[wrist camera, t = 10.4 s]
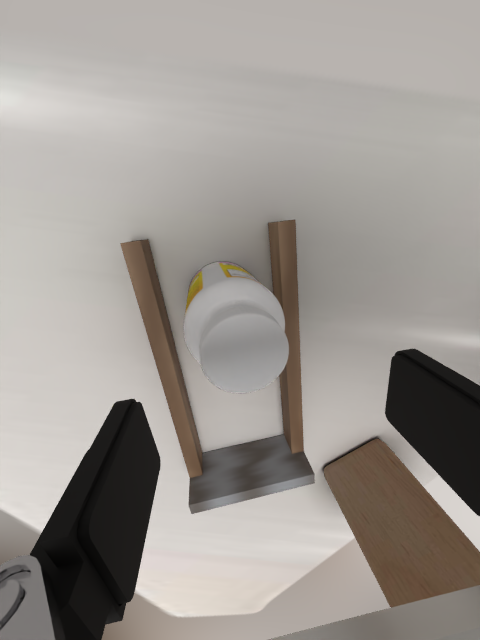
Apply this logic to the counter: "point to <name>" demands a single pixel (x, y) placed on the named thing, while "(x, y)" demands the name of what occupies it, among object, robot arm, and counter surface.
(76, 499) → the robot arm
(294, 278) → the shelf lane
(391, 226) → the counter surface
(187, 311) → the supplement bottle
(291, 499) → the counter surface
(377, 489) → the block
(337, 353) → the counter surface
